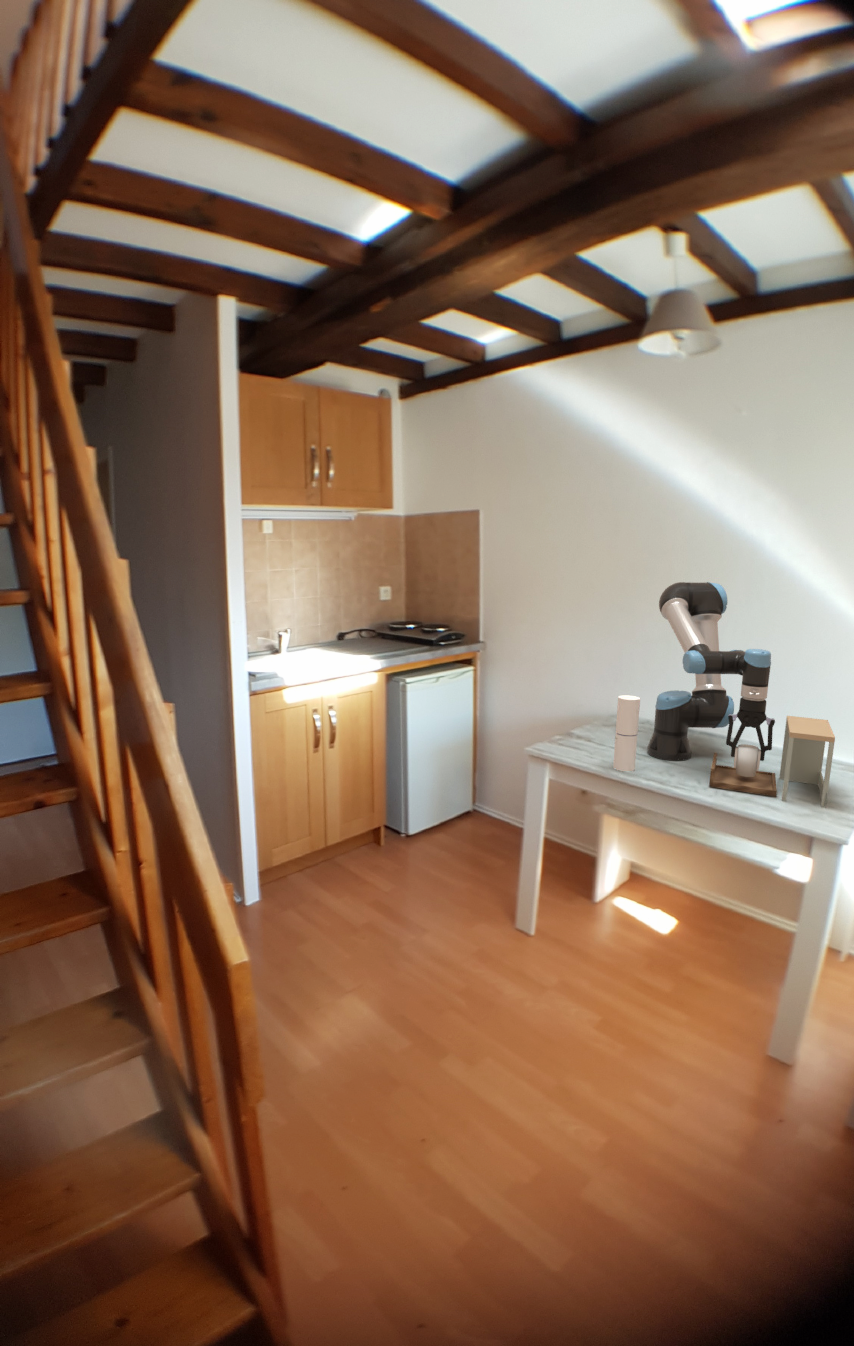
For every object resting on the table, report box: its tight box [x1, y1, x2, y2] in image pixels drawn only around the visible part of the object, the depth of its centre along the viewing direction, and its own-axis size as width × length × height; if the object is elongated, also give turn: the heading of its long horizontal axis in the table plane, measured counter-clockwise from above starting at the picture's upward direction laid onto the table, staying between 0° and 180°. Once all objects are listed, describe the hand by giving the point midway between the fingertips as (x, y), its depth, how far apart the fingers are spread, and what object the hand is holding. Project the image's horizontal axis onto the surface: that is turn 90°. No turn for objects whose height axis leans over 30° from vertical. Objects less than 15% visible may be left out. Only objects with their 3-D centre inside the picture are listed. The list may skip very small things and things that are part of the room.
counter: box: [778, 715, 836, 809], centre depth 210 cm, size 12×22×22 cm, turn 154°
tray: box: [708, 752, 778, 797], centre depth 218 cm, size 19×19×6 cm
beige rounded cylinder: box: [735, 743, 760, 777], centre depth 217 cm, size 6×6×9 cm
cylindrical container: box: [612, 694, 641, 772], centre depth 229 cm, size 7×7×25 cm
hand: (746, 768), depth 217 cm, fingers closed on beige rounded cylinder, 6 cm apart
